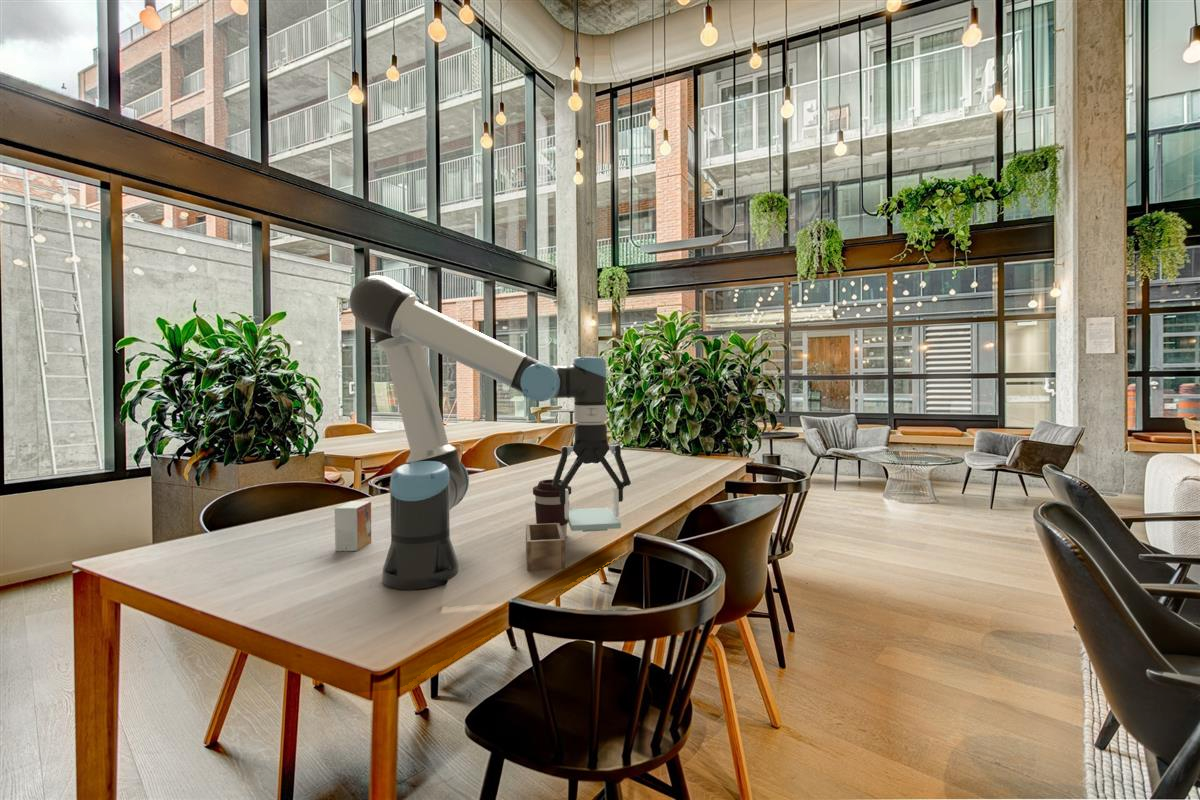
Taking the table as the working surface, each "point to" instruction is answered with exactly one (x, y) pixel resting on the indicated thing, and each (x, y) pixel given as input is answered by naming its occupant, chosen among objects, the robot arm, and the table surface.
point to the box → (545, 547)
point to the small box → (352, 526)
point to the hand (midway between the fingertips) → (591, 516)
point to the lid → (593, 519)
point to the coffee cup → (550, 505)
